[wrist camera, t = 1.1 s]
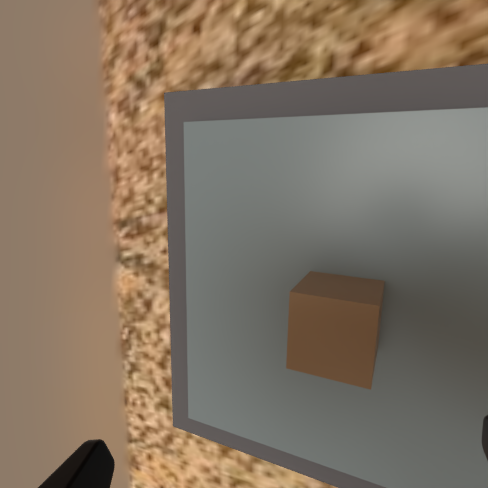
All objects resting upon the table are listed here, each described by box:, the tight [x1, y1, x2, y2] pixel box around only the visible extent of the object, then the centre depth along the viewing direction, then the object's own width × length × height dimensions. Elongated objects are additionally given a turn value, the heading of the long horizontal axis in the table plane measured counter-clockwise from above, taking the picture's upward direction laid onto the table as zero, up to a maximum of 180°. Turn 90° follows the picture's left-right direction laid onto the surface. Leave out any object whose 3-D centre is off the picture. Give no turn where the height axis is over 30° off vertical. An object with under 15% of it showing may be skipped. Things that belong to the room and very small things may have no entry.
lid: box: [184, 107, 488, 488], centre depth 18 cm, size 21×21×5 cm
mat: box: [164, 64, 488, 488], centre depth 21 cm, size 25×25×1 cm
